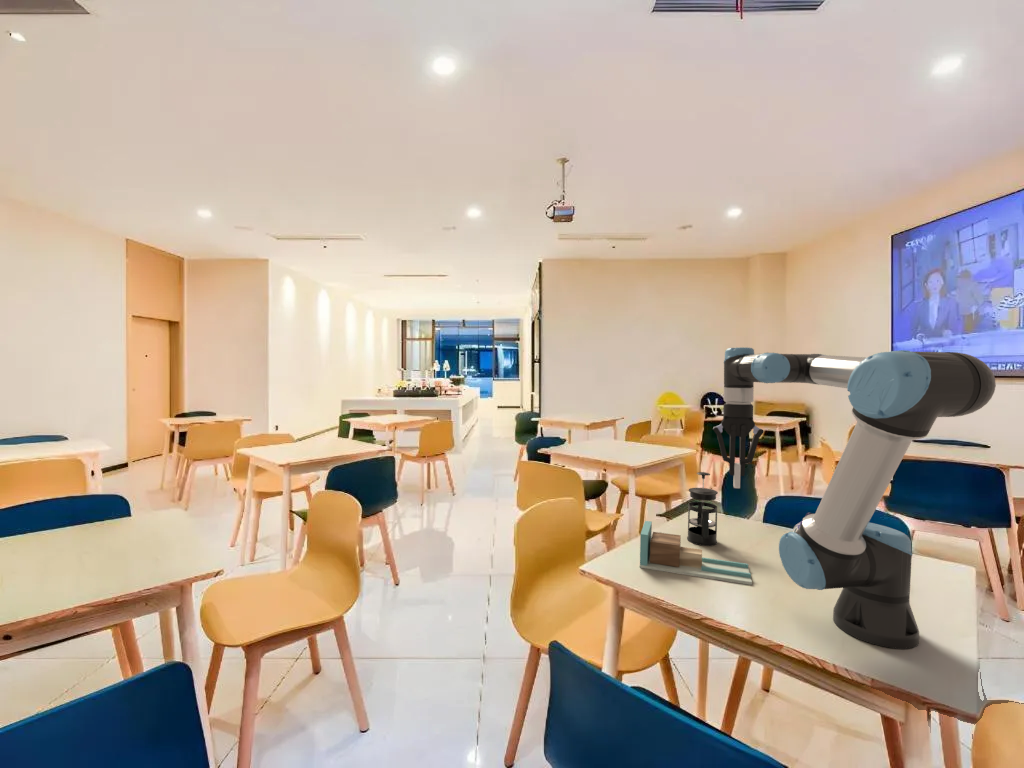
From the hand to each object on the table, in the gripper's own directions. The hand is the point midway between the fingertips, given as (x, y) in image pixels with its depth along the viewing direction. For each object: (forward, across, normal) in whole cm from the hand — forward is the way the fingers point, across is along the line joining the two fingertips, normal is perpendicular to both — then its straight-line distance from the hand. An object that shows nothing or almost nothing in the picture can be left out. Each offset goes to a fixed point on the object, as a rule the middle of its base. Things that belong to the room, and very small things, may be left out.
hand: (736, 487), depth 133 cm
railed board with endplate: (+24, +11, -1) cm, 27 cm away
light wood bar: (+24, +15, -1) cm, 28 cm away
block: (+23, +19, -1) cm, 30 cm away
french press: (+25, +8, -24) cm, 35 cm away
